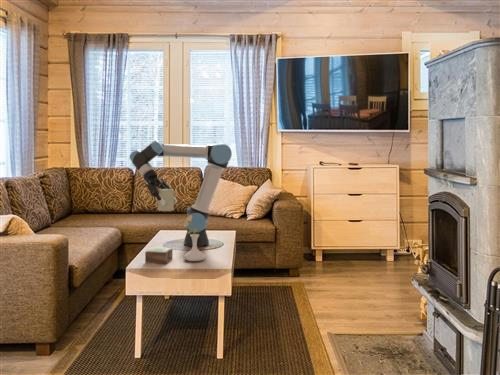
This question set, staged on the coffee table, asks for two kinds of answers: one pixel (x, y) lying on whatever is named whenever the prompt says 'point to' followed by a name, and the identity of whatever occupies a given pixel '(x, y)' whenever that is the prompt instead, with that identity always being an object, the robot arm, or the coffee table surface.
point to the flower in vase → (194, 252)
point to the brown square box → (158, 255)
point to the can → (166, 199)
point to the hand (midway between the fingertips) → (170, 203)
